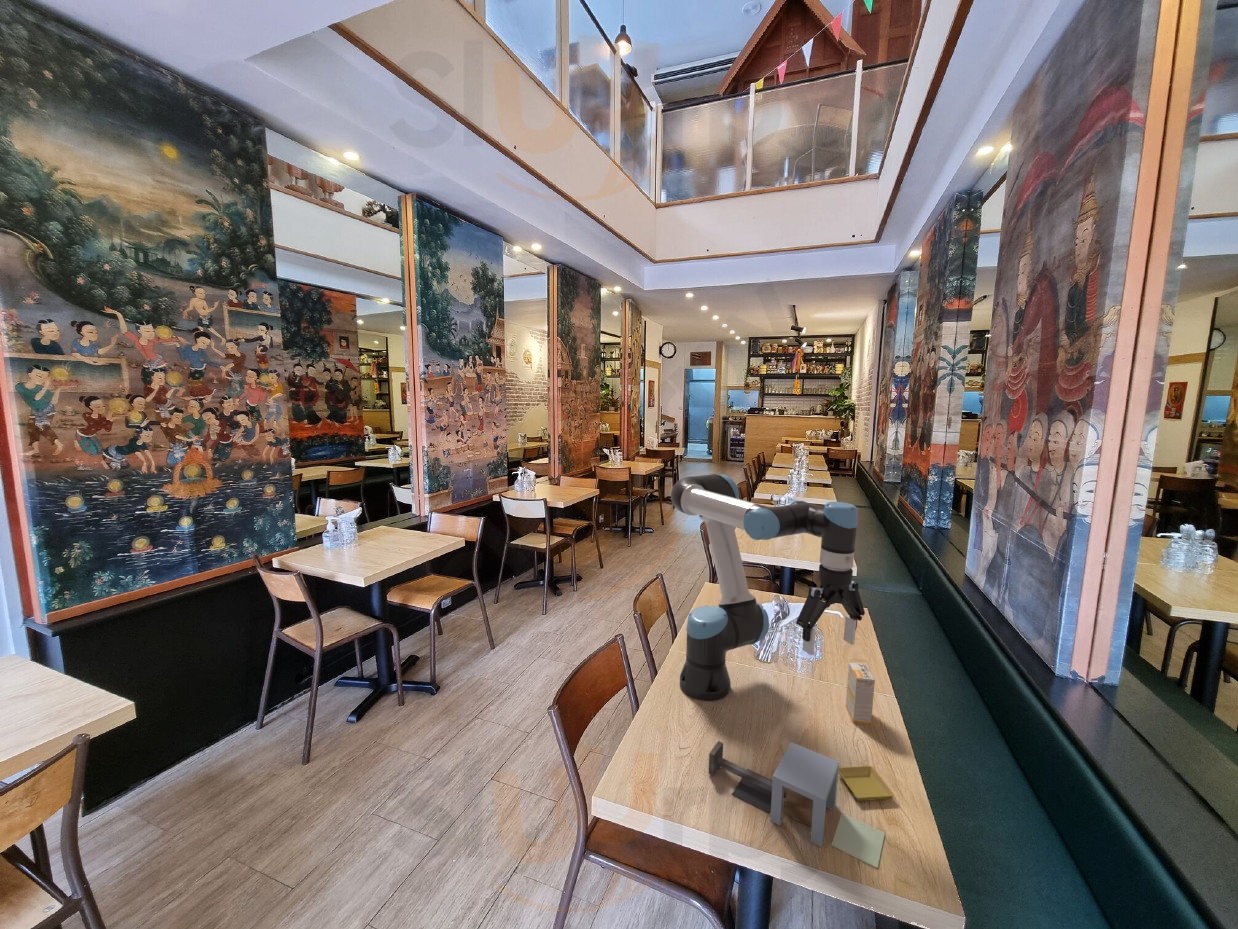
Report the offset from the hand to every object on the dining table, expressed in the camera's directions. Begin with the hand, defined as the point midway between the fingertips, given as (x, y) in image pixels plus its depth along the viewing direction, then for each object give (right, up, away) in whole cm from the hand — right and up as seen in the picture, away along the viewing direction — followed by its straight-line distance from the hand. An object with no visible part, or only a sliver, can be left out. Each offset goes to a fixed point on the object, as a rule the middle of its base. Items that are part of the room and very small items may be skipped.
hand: (828, 647), depth 122 cm
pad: (-5, -28, -26) cm, 39 cm away
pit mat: (-22, -26, -14) cm, 37 cm away
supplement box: (+13, -24, +12) cm, 30 cm away
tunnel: (-14, -27, -20) cm, 36 cm away
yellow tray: (+2, -27, -13) cm, 30 cm away
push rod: (-21, -26, -15) cm, 37 cm away
